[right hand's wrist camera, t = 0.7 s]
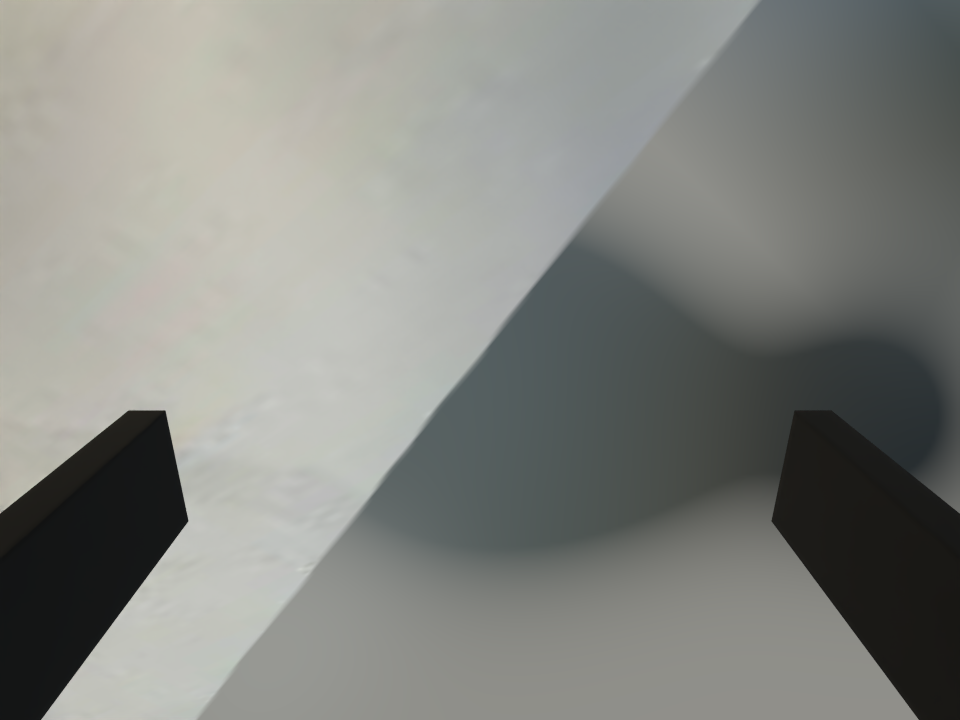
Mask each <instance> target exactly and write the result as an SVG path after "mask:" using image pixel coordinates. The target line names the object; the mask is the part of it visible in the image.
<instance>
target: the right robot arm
mask: <svg viewBox="0 0 960 720" xmlns="http://www.w3.org/2000/svg"><path fill="white" fill-rule="evenodd" d="M187 522H188V517H187V512H186V507H185V502H184V498H183V493H182V488H181V483H180V478H179V474H178V469H177V464H176V459H175V454H174V450H173V445H172V440H171V435H170V430H169V426H168V421H167V416H166V411H127V412H126V413H125V414H124V415H122V416H121V417H120V418H119V419H118V420H116V421H115V422H114V423H113V424H111V425H110V426H109V427H108V428H106V429H105V430H104V431H103V432H101V433H100V434H99V435H98V436H96V437H95V438H94V439H93V440H91V441H90V442H89V443H88V444H86V445H85V446H84V447H83V448H81V449H80V450H79V451H78V452H76V453H75V454H74V455H73V456H71V457H70V458H69V459H68V460H66V461H65V462H64V463H63V464H62V465H60V466H59V467H58V468H57V469H55V470H54V471H53V472H52V473H50V474H49V475H48V476H47V477H45V478H44V479H43V480H42V481H40V482H39V483H38V484H37V485H35V486H34V487H33V488H32V489H30V490H29V491H28V492H27V493H25V494H24V495H23V496H22V497H20V498H19V499H18V500H17V501H15V502H14V503H13V504H12V505H10V506H9V507H8V508H7V509H5V510H4V511H3V512H2V513H1V514H0V720H41V719H42V718H43V716H44V715H45V714H46V712H47V711H48V710H49V708H50V707H51V706H52V704H53V703H54V702H55V700H56V699H57V698H58V696H59V695H60V694H61V692H62V691H63V689H64V688H65V687H66V685H67V684H68V683H69V681H70V680H71V679H72V677H73V676H74V675H75V673H76V672H77V671H78V669H79V668H80V667H81V665H82V664H83V663H84V661H85V660H86V658H87V657H88V656H89V654H90V653H91V652H92V650H93V649H94V648H95V646H96V645H97V644H98V642H99V641H100V640H101V638H102V637H103V636H104V634H105V633H106V632H107V630H108V629H109V627H110V626H111V625H112V623H113V622H114V621H115V619H116V618H117V617H118V615H119V614H120V613H121V611H122V610H123V609H124V607H125V606H126V605H127V603H128V602H129V601H130V599H131V598H132V597H133V595H134V594H135V592H136V591H137V590H138V588H139V587H140V586H141V584H142V583H143V582H144V580H145V579H146V578H147V576H148V575H149V574H150V572H151V571H152V570H153V568H154V567H155V566H156V564H157V563H158V561H159V560H160V559H161V557H162V556H163V555H164V553H165V552H166V551H167V549H168V548H169V547H170V545H171V544H172V543H173V541H174V540H175V539H176V537H177V536H178V535H179V533H180V532H181V530H182V529H183V528H184V526H185V525H186V524H187ZM772 522H773V524H774V525H775V526H776V528H777V529H778V530H779V532H780V533H781V534H782V536H783V537H784V538H785V540H786V541H787V543H788V544H789V545H790V547H791V548H792V549H793V551H794V552H795V553H796V555H797V556H798V557H799V559H800V560H801V561H802V563H803V564H804V566H805V567H806V568H807V570H808V571H809V572H810V574H811V575H812V576H813V578H814V579H815V580H816V582H817V583H818V584H819V586H820V587H821V588H822V590H823V591H824V592H825V594H826V595H827V597H828V598H829V599H830V601H831V602H832V603H833V605H834V606H835V607H836V609H837V610H838V611H839V613H840V614H841V615H842V617H843V618H844V619H845V621H846V622H847V623H848V625H849V626H850V627H851V629H852V630H853V632H854V633H855V634H856V636H857V637H858V638H859V640H860V641H861V642H862V644H863V645H864V646H865V648H866V649H867V650H868V652H869V653H870V654H871V656H872V657H873V658H874V660H875V661H876V663H877V664H878V665H879V666H880V668H881V669H882V671H883V672H884V673H885V675H886V676H887V677H888V679H889V680H890V681H891V683H892V684H893V685H894V687H895V688H896V689H897V691H898V692H899V694H900V695H901V696H902V698H903V699H904V700H905V702H906V703H907V704H908V706H909V707H910V708H911V710H912V711H913V712H914V714H915V715H916V716H917V718H918V719H919V720H960V514H959V513H958V512H957V511H956V510H955V509H953V508H952V507H951V506H949V505H948V504H947V503H946V502H945V501H943V500H942V499H941V498H940V497H938V496H937V495H936V494H935V493H933V492H932V491H931V490H930V489H928V488H927V487H926V486H925V485H923V484H922V483H921V482H920V481H918V480H917V479H916V478H915V477H913V476H912V475H911V474H910V473H908V472H907V471H906V470H905V469H903V468H902V467H901V466H900V465H898V464H897V463H896V462H895V461H894V460H892V459H891V458H890V457H889V456H887V455H886V454H885V453H884V452H882V451H881V450H880V449H879V448H877V447H876V446H875V445H874V444H872V443H871V442H870V441H869V440H867V439H866V438H865V437H864V436H862V435H861V434H860V433H859V432H857V431H856V430H855V429H854V428H852V427H851V426H850V425H849V424H847V423H846V422H845V421H844V420H842V419H841V418H840V417H839V416H838V415H836V414H835V413H834V412H833V411H794V416H793V421H792V426H791V431H790V435H789V440H788V445H787V450H786V454H785V459H784V464H783V469H782V474H781V478H780V483H779V488H778V493H777V498H776V502H775V507H774V512H773V517H772Z"/></svg>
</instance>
